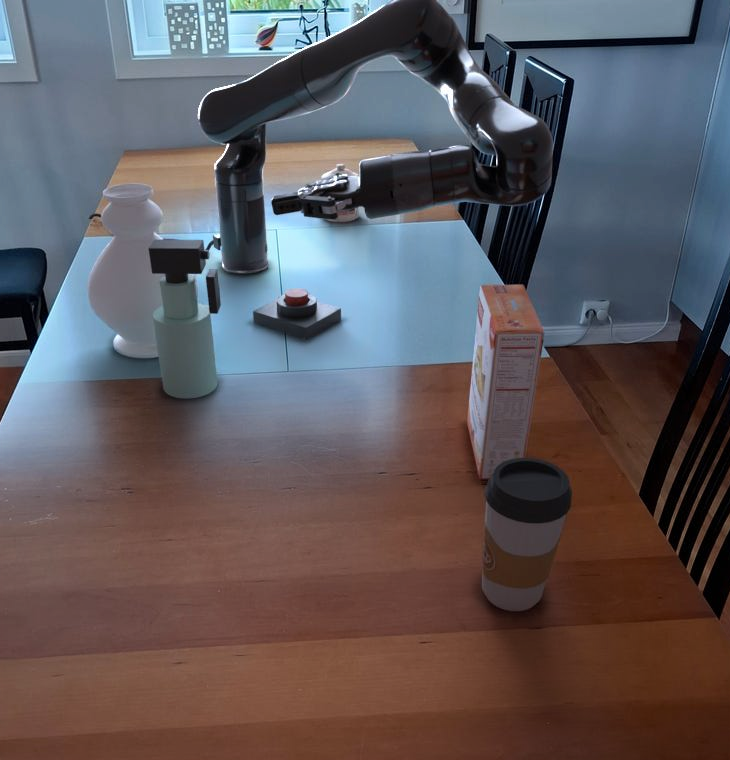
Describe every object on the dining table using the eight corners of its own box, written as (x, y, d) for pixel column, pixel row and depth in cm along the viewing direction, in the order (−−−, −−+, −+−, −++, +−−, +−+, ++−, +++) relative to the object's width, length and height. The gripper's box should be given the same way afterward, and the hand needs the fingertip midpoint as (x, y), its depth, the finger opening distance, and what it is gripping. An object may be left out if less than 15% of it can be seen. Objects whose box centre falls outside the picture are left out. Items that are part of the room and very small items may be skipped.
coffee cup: (464, 569, 90) (478, 457, 81) (537, 564, 91) (559, 452, 82) (482, 622, 84) (499, 507, 74) (561, 616, 84) (588, 501, 75)
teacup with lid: (321, 223, 187) (320, 170, 180) (321, 211, 194) (320, 159, 187) (373, 222, 187) (374, 169, 180) (371, 210, 194) (372, 158, 187)
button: (280, 303, 141) (280, 293, 140) (295, 295, 144) (294, 286, 143) (298, 308, 139) (298, 298, 138) (312, 301, 142) (312, 291, 141)
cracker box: (463, 424, 115) (478, 282, 102) (506, 424, 115) (526, 282, 102) (475, 481, 104) (494, 329, 91) (523, 481, 103) (548, 329, 91)
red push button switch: (253, 322, 144) (252, 301, 141) (289, 304, 150) (288, 283, 147) (306, 339, 138) (305, 317, 135) (341, 319, 144) (341, 298, 142)
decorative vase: (163, 311, 148) (143, 168, 133) (224, 340, 138) (210, 189, 123) (77, 342, 138) (45, 191, 123) (137, 376, 128) (110, 216, 113)
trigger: (209, 313, 116) (205, 276, 113) (212, 305, 119) (209, 268, 115) (217, 313, 116) (214, 276, 113) (221, 305, 119) (217, 269, 115)
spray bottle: (157, 398, 122) (135, 254, 109) (169, 372, 129) (149, 233, 116) (217, 399, 122) (202, 254, 108) (226, 373, 128) (212, 234, 115)
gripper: (395, 142, 111) (273, 164, 114) (392, 169, 101) (259, 193, 104) (402, 197, 115) (285, 217, 119) (401, 229, 105) (272, 250, 108)
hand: (273, 206), depth 111 cm, fingers closed
